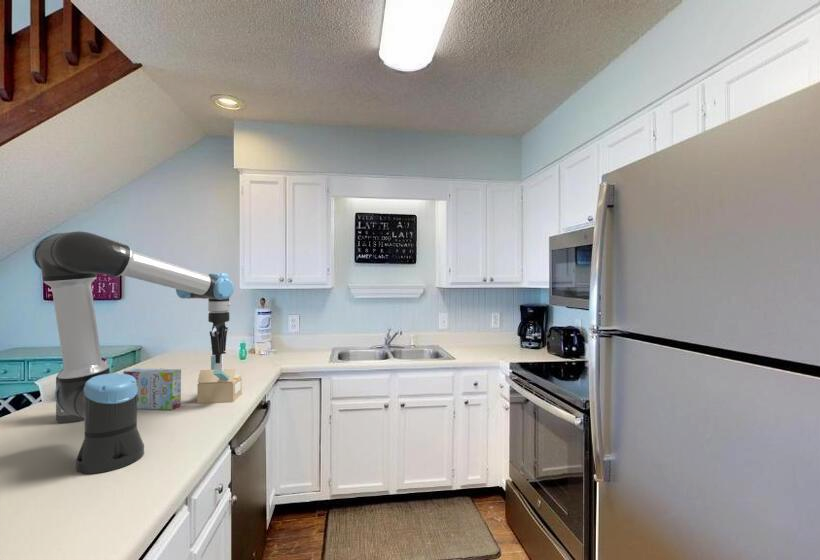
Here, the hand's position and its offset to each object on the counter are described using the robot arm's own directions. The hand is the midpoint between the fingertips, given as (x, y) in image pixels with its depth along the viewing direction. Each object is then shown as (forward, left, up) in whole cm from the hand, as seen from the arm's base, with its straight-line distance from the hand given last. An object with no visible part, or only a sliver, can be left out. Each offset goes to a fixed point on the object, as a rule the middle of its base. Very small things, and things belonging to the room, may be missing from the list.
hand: (219, 370), depth 151 cm
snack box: (+3, +26, -15) cm, 30 cm away
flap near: (+7, +3, -4) cm, 9 cm away
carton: (+11, +3, -15) cm, 19 cm away
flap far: (+14, +3, -7) cm, 16 cm away
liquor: (-7, +47, -15) cm, 50 cm away
